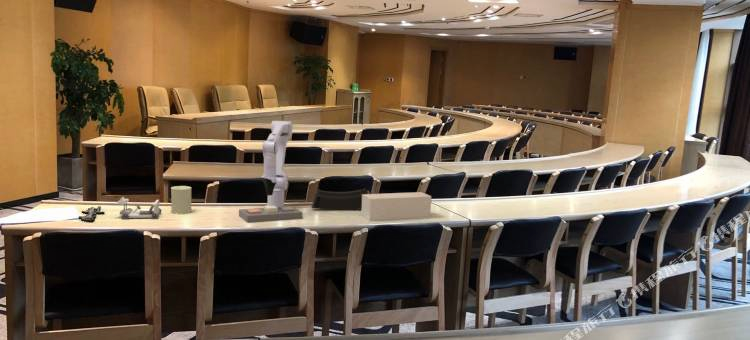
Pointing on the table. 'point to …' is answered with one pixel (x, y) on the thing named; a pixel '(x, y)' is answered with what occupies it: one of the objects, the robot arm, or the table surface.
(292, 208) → the key slate
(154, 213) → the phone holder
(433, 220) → the table surface
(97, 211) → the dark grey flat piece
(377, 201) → the beige rectangular block
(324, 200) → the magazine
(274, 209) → the key cream
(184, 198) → the can
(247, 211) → the key terracotta
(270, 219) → the keypad
